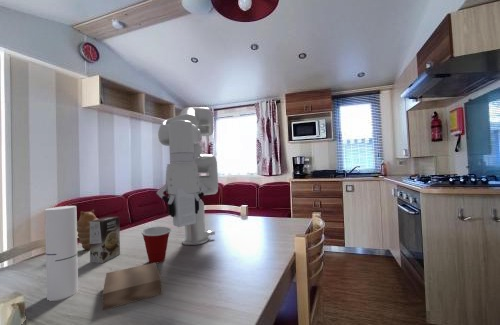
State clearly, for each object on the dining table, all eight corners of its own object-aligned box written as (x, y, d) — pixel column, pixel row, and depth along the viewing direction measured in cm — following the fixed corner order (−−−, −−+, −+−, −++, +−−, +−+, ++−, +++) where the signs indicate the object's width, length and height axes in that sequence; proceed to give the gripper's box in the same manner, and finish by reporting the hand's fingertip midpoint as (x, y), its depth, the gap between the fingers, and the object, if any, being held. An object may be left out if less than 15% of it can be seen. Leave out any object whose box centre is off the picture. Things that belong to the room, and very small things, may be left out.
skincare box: (189, 221, 78) (188, 186, 78) (196, 223, 75) (194, 186, 75) (172, 225, 74) (171, 187, 74) (178, 227, 71) (177, 188, 71)
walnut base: (155, 274, 77) (155, 262, 77) (161, 293, 65) (161, 279, 65) (106, 286, 71) (106, 273, 71) (102, 309, 58) (102, 294, 58)
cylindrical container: (58, 288, 70) (57, 206, 71) (83, 286, 71) (81, 205, 72) (39, 302, 63) (38, 210, 64) (67, 299, 64) (65, 209, 65)
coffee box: (103, 263, 89) (102, 221, 90) (89, 262, 91) (88, 221, 91) (121, 254, 98) (120, 216, 99) (108, 253, 99) (107, 216, 100)
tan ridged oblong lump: (79, 254, 100) (79, 212, 101) (73, 250, 105) (73, 211, 106) (102, 248, 107) (101, 209, 108) (95, 245, 112) (95, 208, 113)
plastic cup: (153, 268, 82) (152, 234, 83) (136, 263, 88) (135, 231, 88) (177, 257, 91) (176, 227, 92) (160, 253, 97) (159, 224, 98)
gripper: (204, 159, 82) (206, 209, 82) (151, 160, 73) (153, 216, 73) (211, 158, 75) (213, 213, 75) (154, 159, 67) (156, 221, 67)
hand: (184, 214), depth 74 cm, fingers closed on skincare box, 6 cm apart
